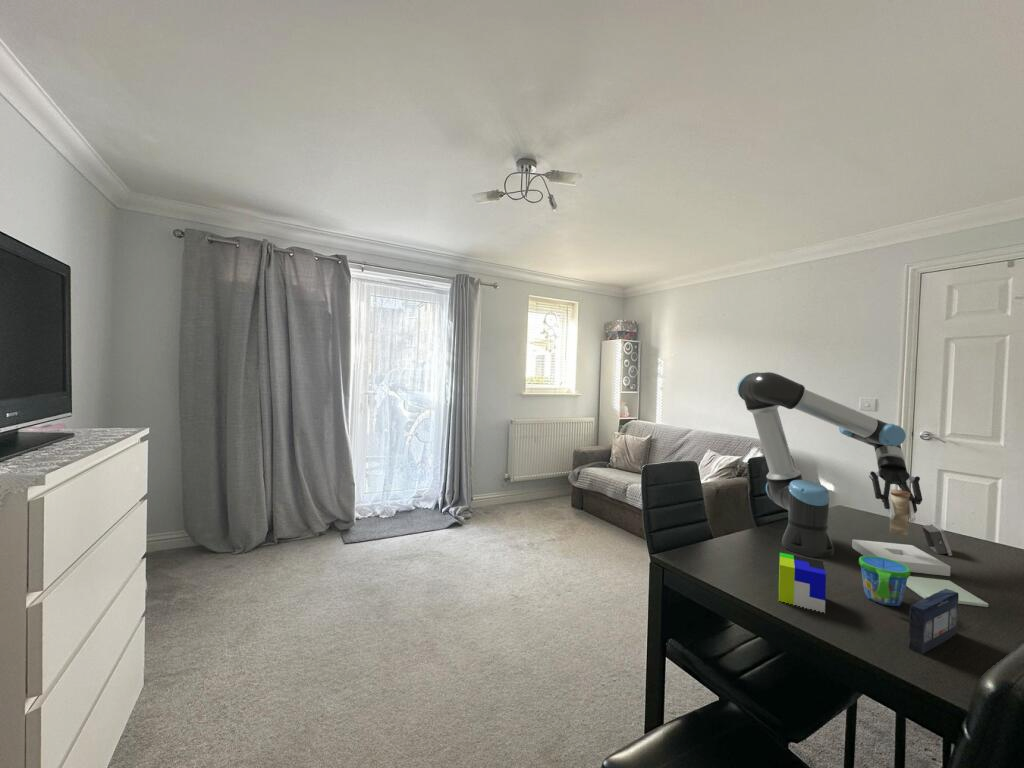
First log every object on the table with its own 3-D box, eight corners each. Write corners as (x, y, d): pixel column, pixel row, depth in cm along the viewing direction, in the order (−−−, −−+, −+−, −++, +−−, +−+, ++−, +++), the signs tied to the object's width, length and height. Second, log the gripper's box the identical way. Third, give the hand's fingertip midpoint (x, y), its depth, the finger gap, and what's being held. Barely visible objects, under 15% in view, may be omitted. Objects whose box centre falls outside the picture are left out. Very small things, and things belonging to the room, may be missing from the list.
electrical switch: (953, 557, 148) (950, 530, 148) (932, 555, 150) (930, 528, 150) (941, 548, 156) (939, 522, 156) (923, 546, 158) (920, 521, 159)
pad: (925, 599, 117) (925, 596, 117) (893, 576, 131) (893, 574, 131) (988, 607, 114) (988, 604, 114) (949, 583, 127) (949, 580, 127)
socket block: (881, 568, 137) (882, 559, 137) (852, 547, 154) (852, 539, 154) (950, 576, 132) (950, 566, 132) (911, 553, 150) (911, 545, 150)
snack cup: (906, 618, 107) (907, 578, 107) (853, 602, 115) (854, 564, 115) (911, 598, 118) (912, 561, 118) (862, 584, 125) (863, 550, 125)
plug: (893, 534, 142) (896, 492, 141) (885, 529, 146) (887, 488, 146) (911, 536, 140) (913, 494, 140) (902, 531, 145) (904, 490, 145)
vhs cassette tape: (922, 655, 93) (923, 609, 93) (905, 647, 95) (906, 603, 95) (960, 635, 101) (961, 593, 100) (943, 628, 103) (944, 587, 103)
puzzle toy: (824, 613, 109) (826, 574, 109) (778, 601, 114) (779, 564, 114) (821, 597, 117) (822, 561, 117) (778, 587, 123) (779, 552, 123)
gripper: (919, 470, 152) (935, 530, 138) (858, 464, 161) (866, 519, 146) (926, 458, 147) (942, 518, 133) (862, 452, 156) (871, 507, 142)
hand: (902, 518), depth 140 cm, fingers closed on plug, 4 cm apart
